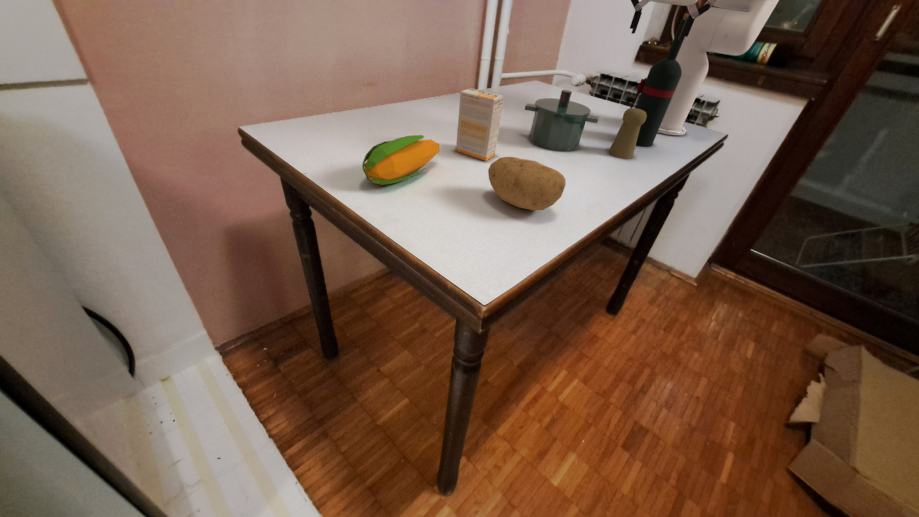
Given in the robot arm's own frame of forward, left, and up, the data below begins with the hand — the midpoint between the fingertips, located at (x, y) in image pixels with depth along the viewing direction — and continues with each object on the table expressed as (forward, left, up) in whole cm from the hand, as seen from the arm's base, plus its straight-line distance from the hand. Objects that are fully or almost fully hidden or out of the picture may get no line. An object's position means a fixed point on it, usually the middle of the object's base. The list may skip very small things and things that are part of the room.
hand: (656, 36), depth 78 cm
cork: (+1, +2, -26) cm, 26 cm away
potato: (+40, -17, -26) cm, 51 cm away
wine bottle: (-13, +6, -26) cm, 29 cm away
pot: (+2, -15, -26) cm, 30 cm away
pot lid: (+2, -15, -17) cm, 23 cm away
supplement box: (+21, -31, -26) cm, 46 cm away
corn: (+39, -41, -26) cm, 62 cm away
